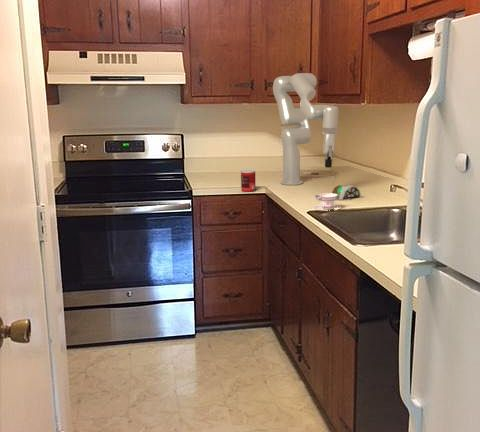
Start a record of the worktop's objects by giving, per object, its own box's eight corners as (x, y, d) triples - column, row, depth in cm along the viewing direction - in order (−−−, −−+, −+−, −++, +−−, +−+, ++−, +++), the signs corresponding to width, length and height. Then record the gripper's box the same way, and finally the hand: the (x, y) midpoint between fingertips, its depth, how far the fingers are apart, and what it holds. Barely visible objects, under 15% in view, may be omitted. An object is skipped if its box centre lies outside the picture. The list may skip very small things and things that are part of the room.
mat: (315, 195, 271) (315, 195, 271) (347, 195, 270) (347, 194, 270) (317, 200, 260) (317, 199, 259) (351, 200, 259) (351, 199, 259)
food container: (348, 181, 271) (362, 184, 263) (348, 193, 273) (361, 197, 264) (329, 184, 265) (342, 187, 257) (329, 196, 267) (342, 199, 258)
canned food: (255, 189, 292) (254, 169, 290) (256, 192, 285) (255, 171, 282) (241, 189, 292) (240, 169, 290) (241, 192, 284) (241, 171, 282)
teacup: (339, 205, 248) (339, 192, 247) (343, 211, 236) (343, 197, 235) (313, 205, 248) (313, 192, 247) (316, 211, 237) (316, 197, 235)
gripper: (320, 129, 280) (319, 164, 285) (323, 132, 265) (322, 169, 270) (335, 129, 279) (333, 164, 284) (339, 132, 265) (337, 169, 270)
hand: (328, 167), depth 277 cm, fingers closed
